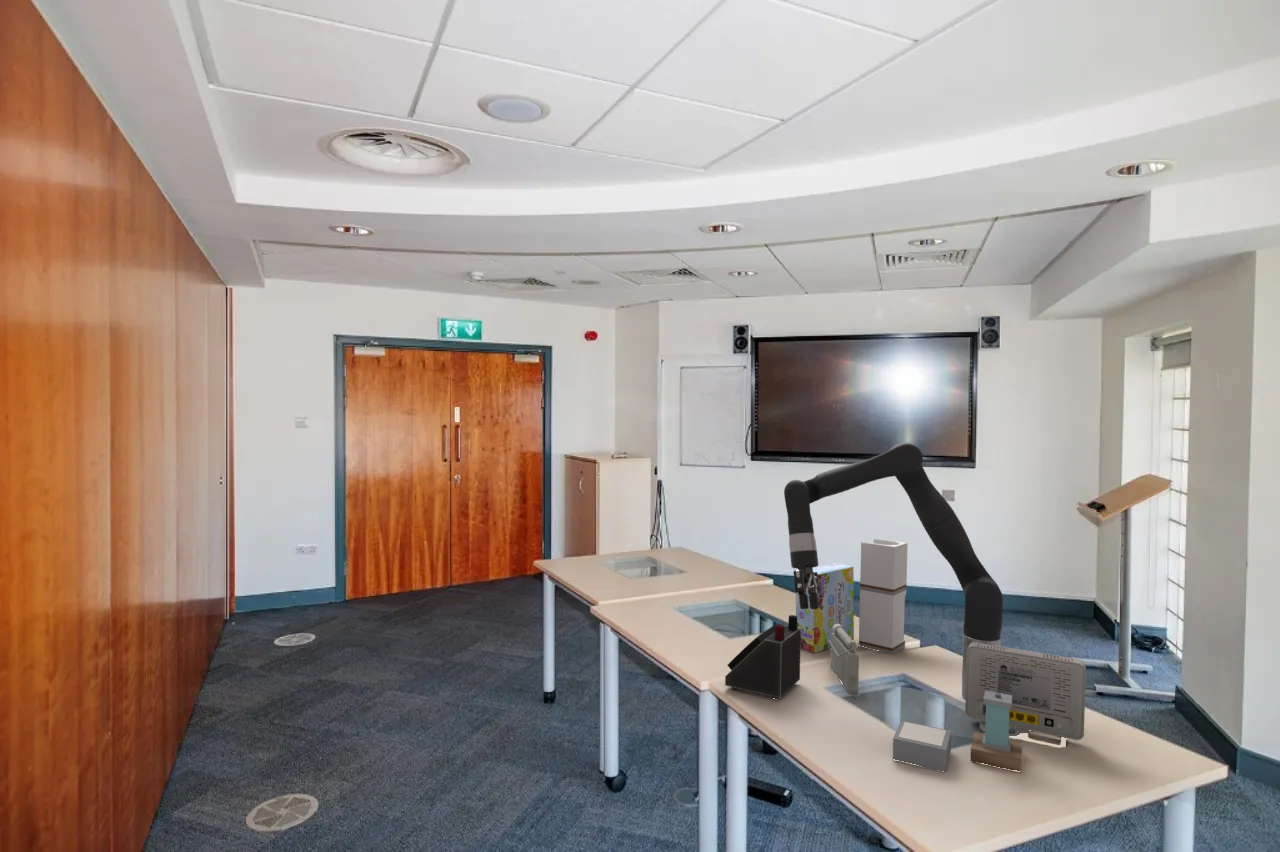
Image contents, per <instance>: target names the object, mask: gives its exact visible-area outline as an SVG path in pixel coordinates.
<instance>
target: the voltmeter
mask: <svg viewBox="0 0 1280 852" xmlns="http://www.w3.org/2000/svg"><path fill="white" fill-rule="evenodd" d="M787 622H788V624H787V625H786V624H785V625H783V624H781V623H779V624H778V623H777V624H775V625H773V626H771V627H769V628H768V629H766V630H765V631H763V632H761V633H760V634H759V635H758V636H756V637H755V638H754V639H753V640H752V641H750V643H748V644H747V645H746V646H745V647H744V648H743V649H742V650H741V651H740V652H738V654H737V655H736V656H735V657H734V658H733V659H732V660H731V661H729V663H728V664H727V667H728V668H729V670H730V671H729V672H728V673H727V674H726V675H725V677H724V679H725V680H724V685H725V686H726V687H729V688H730V689H731V690H732V691H734V692H737V691H739V690H742V691H744V690H745V691H748V692H751V693H757V694H762V695H766V696H770V697H771V699H772V698H775V699H779V698H782V697H783V696H784V695H785V694H786V693H787V692H788V691H789V690H790V689H792V688H793V687H794V686H795V685H796V684H797V683H798V682H799V681H800V679H801V628H799V627H797V616H796V614H794V615H793V614H790V615H789V616H788V621H787ZM793 685H794V686H793ZM779 700H780V699H779Z"/></svg>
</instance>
